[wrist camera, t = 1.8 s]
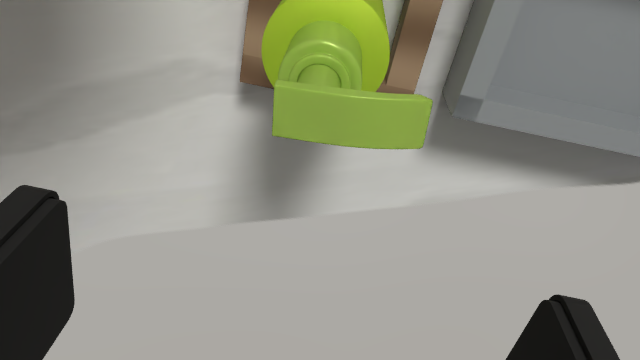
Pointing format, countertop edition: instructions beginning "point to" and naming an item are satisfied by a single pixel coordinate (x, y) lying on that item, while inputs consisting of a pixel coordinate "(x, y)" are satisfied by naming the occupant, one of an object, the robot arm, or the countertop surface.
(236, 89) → the countertop surface
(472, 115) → the slate tray
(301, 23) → the soap dispenser
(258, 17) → the walnut holder
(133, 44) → the countertop surface
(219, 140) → the countertop surface
